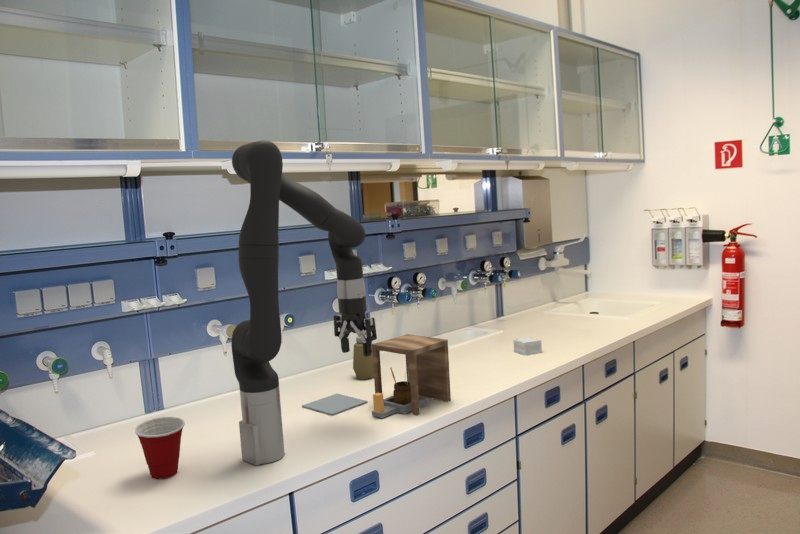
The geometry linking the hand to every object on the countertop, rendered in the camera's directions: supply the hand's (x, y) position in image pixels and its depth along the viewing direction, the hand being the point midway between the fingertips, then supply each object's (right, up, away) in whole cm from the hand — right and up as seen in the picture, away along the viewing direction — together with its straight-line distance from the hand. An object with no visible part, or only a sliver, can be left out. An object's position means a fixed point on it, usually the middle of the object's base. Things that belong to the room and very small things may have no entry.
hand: (356, 354), depth 169 cm
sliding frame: (+11, -17, +10) cm, 23 cm away
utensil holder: (+13, -17, +13) cm, 25 cm away
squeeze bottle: (0, -15, +47) cm, 49 cm away
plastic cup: (-42, -24, -25) cm, 55 cm away
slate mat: (-8, -18, +18) cm, 27 cm away
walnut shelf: (+16, -17, +16) cm, 28 cm away
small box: (+61, -9, +69) cm, 92 cm away
